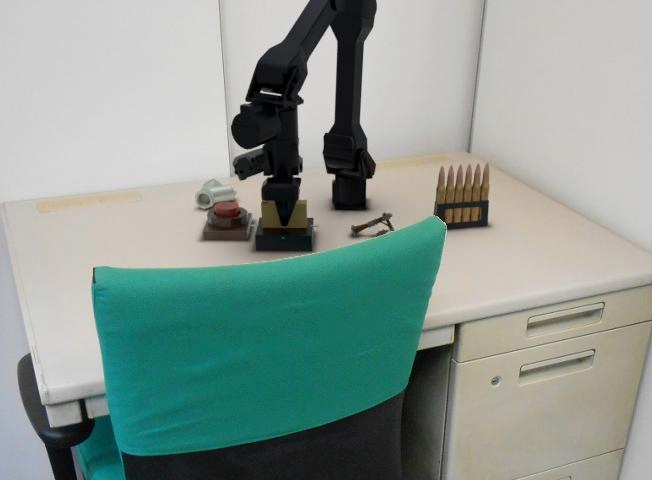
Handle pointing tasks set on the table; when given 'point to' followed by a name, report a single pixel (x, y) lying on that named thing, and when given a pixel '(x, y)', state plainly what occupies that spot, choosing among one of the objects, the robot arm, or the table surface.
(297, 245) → the dark rectangular block base
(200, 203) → the pipe fitting
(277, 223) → the olive rectangular block
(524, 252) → the table surface
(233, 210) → the button
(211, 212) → the button housing
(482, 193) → the ammunition clip
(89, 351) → the table surface
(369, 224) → the wooden post with brackets
